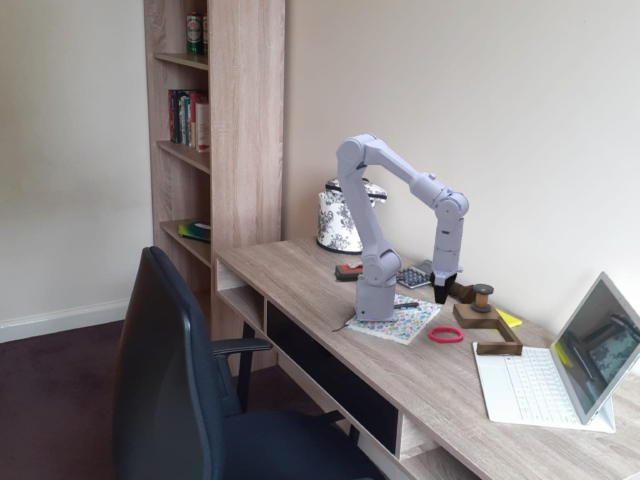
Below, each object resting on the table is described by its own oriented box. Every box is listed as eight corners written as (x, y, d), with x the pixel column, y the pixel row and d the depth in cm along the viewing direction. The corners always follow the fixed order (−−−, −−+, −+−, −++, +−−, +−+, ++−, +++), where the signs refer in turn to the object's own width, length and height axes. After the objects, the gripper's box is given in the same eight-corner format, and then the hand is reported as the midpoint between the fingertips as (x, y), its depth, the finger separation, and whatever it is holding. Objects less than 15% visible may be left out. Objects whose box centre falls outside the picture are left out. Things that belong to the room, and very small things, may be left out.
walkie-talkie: (338, 286, 162) (407, 282, 166) (339, 271, 160) (408, 268, 165) (330, 273, 170) (396, 270, 174) (331, 259, 168) (397, 256, 173)
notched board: (477, 354, 129) (479, 344, 128) (452, 312, 148) (453, 303, 147) (521, 355, 130) (523, 345, 129) (490, 313, 149) (492, 304, 148)
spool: (473, 312, 143) (477, 291, 141) (468, 304, 148) (471, 283, 146) (493, 313, 143) (496, 292, 142) (486, 304, 148) (490, 283, 146)
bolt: (433, 289, 166) (472, 309, 154) (422, 284, 163) (461, 303, 151) (442, 271, 166) (482, 289, 154) (431, 265, 163) (471, 283, 151)
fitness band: (456, 331, 140) (457, 325, 140) (467, 343, 135) (468, 337, 134) (424, 332, 138) (424, 327, 138) (433, 345, 133) (434, 339, 133)
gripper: (461, 261, 124) (453, 319, 128) (469, 240, 137) (461, 293, 141) (428, 255, 126) (421, 313, 130) (438, 235, 139) (432, 288, 143)
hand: (440, 302), depth 136 cm, fingers closed
